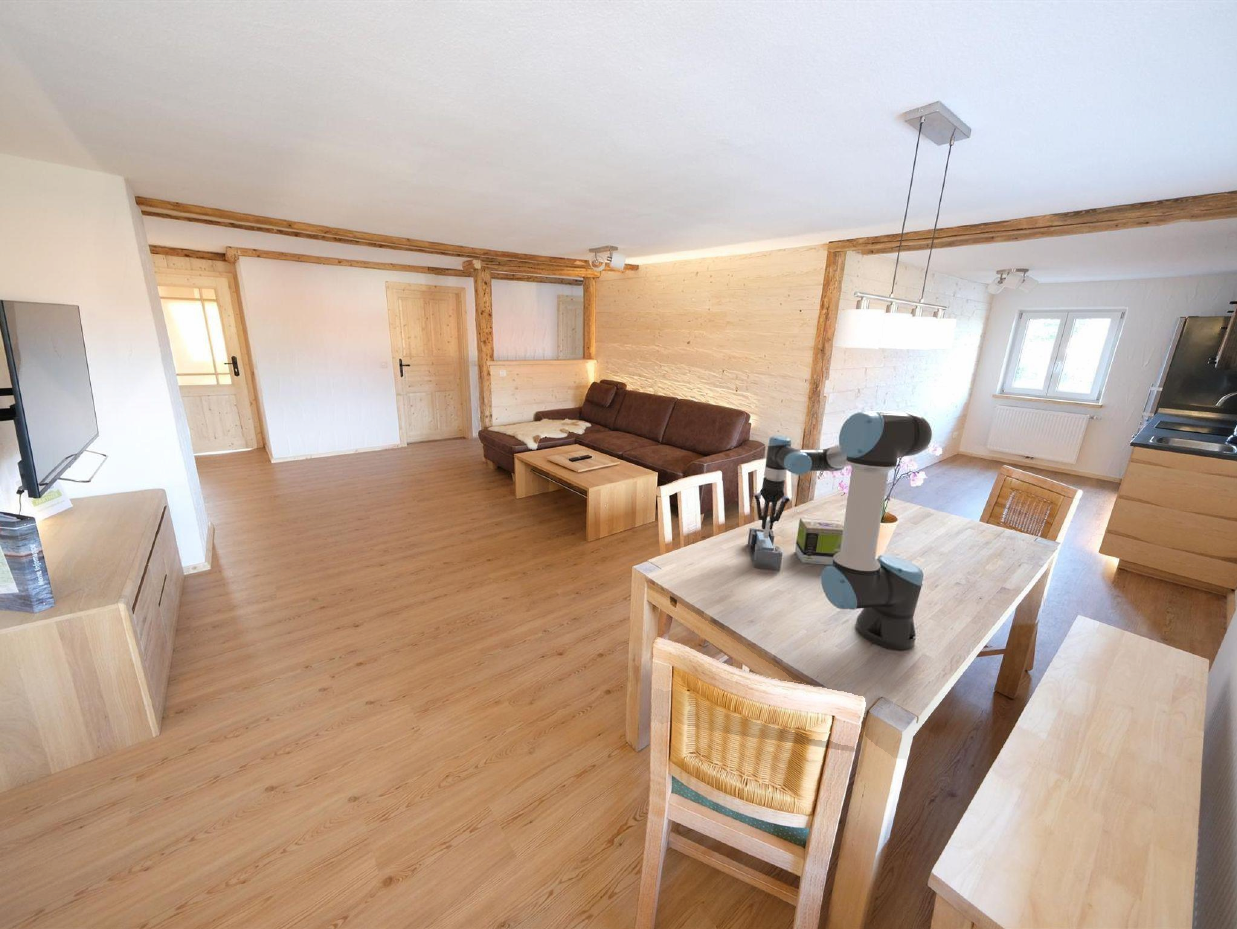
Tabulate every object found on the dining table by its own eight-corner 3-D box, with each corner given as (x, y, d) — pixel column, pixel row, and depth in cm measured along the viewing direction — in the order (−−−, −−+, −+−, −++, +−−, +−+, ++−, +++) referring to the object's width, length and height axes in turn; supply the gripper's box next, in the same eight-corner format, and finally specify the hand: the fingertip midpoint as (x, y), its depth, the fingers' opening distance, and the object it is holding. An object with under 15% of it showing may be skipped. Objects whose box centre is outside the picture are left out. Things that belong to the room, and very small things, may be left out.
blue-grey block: (771, 562, 173) (774, 548, 171) (760, 561, 173) (762, 547, 172) (764, 546, 186) (766, 532, 185) (754, 545, 187) (756, 531, 185)
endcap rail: (779, 570, 170) (782, 553, 168) (754, 568, 171) (756, 550, 169) (770, 546, 189) (772, 530, 187) (747, 544, 190) (749, 528, 188)
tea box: (833, 554, 184) (839, 520, 180) (842, 567, 175) (849, 530, 170) (793, 551, 185) (799, 516, 181) (800, 563, 176) (807, 527, 172)
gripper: (790, 476, 173) (781, 534, 180) (754, 473, 175) (746, 531, 182) (795, 482, 166) (785, 543, 173) (757, 479, 168) (749, 539, 175)
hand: (765, 536), depth 177 cm, fingers closed
